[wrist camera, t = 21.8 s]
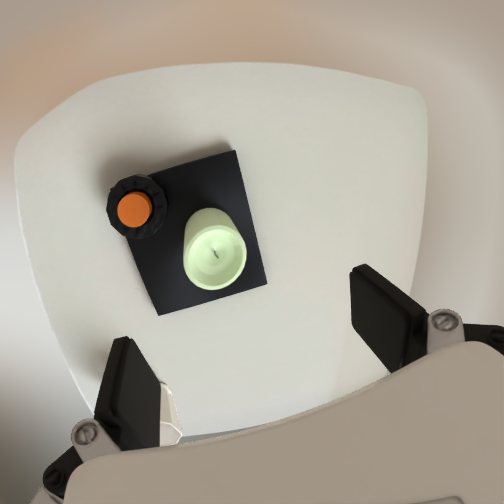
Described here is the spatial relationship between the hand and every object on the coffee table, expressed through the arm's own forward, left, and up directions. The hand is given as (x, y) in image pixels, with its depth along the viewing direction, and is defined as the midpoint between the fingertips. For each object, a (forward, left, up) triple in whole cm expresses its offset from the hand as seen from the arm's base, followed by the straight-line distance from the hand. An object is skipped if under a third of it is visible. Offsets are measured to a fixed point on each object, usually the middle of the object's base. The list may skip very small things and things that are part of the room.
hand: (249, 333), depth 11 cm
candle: (+1, -1, -19) cm, 19 cm away
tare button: (-4, -7, -17) cm, 19 cm away
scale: (+1, -3, -20) cm, 20 cm away
